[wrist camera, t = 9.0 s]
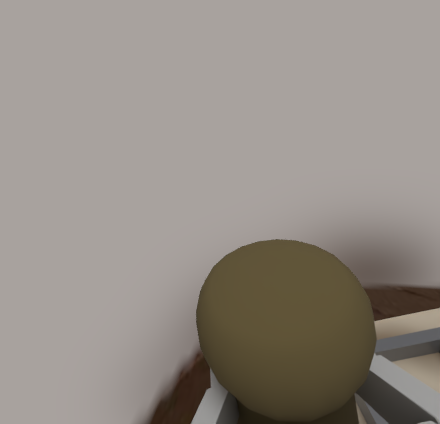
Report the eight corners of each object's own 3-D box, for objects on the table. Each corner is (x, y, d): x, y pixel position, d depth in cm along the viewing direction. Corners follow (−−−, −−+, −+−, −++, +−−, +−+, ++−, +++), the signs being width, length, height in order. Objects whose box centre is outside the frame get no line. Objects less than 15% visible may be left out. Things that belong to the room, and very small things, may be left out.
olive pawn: (222, 515, 10) (123, 366, 5) (244, 367, 15) (204, 220, 10) (388, 572, 8) (485, 426, 3) (349, 382, 13) (364, 212, 8)
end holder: (575, 478, 14) (593, 466, 13) (411, 510, 14) (417, 499, 13) (439, 339, 22) (445, 326, 21) (335, 360, 22) (335, 348, 21)
